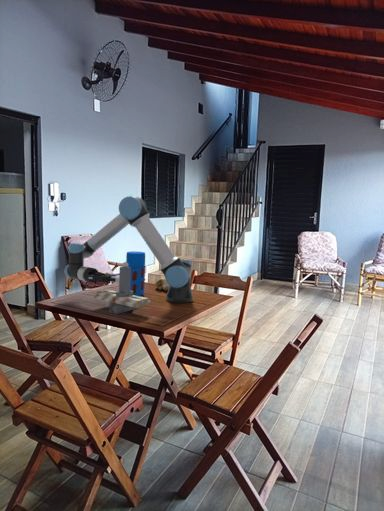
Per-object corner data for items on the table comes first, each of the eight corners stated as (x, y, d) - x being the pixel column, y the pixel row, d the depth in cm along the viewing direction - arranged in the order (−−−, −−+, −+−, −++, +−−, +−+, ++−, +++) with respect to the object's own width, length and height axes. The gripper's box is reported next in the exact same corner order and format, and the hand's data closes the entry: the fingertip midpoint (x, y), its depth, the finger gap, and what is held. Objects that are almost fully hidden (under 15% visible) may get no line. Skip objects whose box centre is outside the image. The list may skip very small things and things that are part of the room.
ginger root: (162, 283, 247) (164, 272, 245) (180, 292, 239) (183, 281, 237) (146, 287, 235) (148, 275, 232) (165, 297, 227) (168, 285, 224)
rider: (115, 298, 177) (116, 262, 175) (127, 295, 184) (128, 260, 182) (121, 300, 175) (122, 263, 173) (133, 297, 182) (134, 261, 180)
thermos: (147, 294, 219) (149, 252, 216) (135, 297, 210) (137, 254, 207) (133, 291, 225) (135, 250, 222) (121, 294, 216) (122, 252, 213)
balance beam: (92, 308, 184) (92, 292, 183) (110, 303, 194) (110, 288, 193) (134, 319, 169) (135, 301, 168) (151, 313, 179) (151, 297, 178)
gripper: (97, 279, 198) (130, 286, 186) (78, 283, 188) (111, 290, 175) (98, 266, 198) (130, 271, 185) (78, 268, 187) (111, 274, 174)
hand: (121, 280), depth 180 cm, fingers closed
